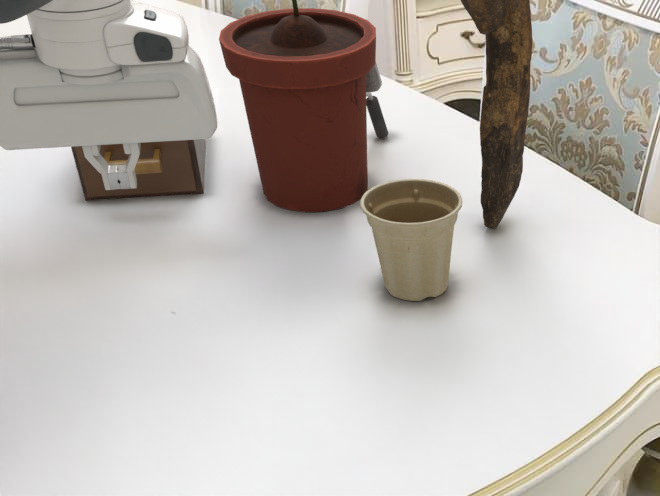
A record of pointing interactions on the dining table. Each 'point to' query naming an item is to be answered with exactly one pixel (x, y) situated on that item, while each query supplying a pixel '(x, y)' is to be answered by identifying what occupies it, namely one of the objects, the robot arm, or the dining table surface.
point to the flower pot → (413, 234)
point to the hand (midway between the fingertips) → (121, 187)
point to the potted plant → (307, 102)
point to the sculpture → (503, 99)
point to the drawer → (144, 168)
